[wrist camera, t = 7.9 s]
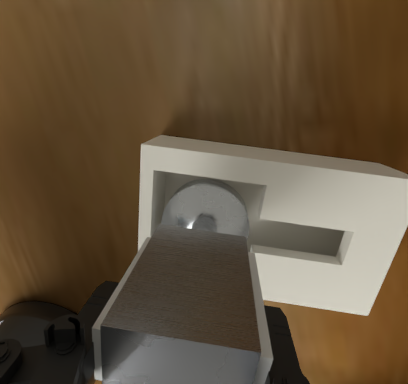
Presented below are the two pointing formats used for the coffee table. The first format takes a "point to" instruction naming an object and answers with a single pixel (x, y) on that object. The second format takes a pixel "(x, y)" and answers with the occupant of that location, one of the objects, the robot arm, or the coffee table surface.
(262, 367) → the robot arm
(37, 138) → the coffee table surface
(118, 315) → the t peg
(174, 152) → the white stepped recess tray
